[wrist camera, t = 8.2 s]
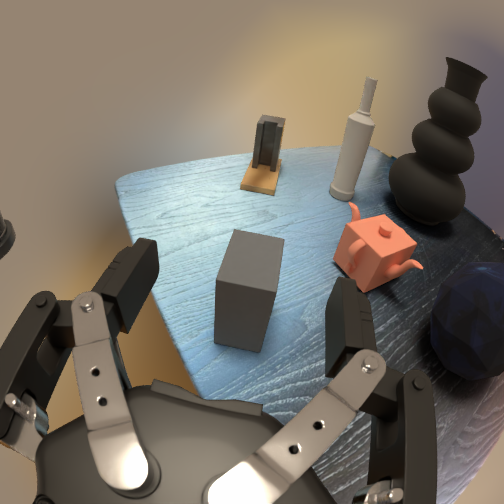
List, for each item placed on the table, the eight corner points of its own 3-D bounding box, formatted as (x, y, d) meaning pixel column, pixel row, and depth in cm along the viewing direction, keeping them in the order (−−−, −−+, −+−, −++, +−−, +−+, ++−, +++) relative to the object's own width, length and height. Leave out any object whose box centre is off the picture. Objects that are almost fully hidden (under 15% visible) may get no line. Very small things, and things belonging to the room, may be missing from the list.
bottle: (323, 192, 58) (352, 72, 42) (337, 186, 61) (365, 75, 45) (344, 204, 56) (379, 81, 39) (356, 197, 59) (389, 84, 42)
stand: (240, 189, 55) (246, 133, 48) (253, 158, 66) (259, 113, 59) (273, 195, 55) (283, 139, 47) (280, 163, 66) (288, 118, 59)
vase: (388, 182, 68) (426, 53, 45) (451, 215, 61) (499, 88, 38) (371, 209, 56) (420, 41, 33) (448, 251, 49) (517, 88, 26)
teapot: (370, 322, 35) (399, 276, 29) (307, 247, 44) (320, 200, 39) (420, 292, 39) (446, 251, 34) (360, 233, 49) (376, 192, 43)
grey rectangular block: (213, 342, 30) (215, 279, 24) (231, 283, 37) (238, 217, 31) (260, 352, 30) (276, 292, 24) (270, 291, 37) (286, 226, 30)
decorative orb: (402, 272, 34) (493, 249, 20) (470, 269, 37) (545, 251, 22) (403, 381, 32) (491, 403, 17) (471, 359, 34) (546, 364, 19)
